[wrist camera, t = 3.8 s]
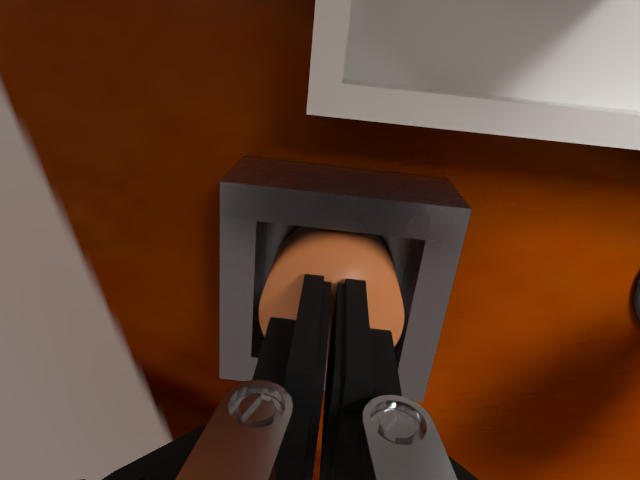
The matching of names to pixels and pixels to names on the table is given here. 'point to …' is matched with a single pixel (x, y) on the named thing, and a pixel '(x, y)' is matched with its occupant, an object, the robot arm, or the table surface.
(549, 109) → the shallow white tray
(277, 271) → the button cap
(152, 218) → the table surface
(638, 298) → the sundae
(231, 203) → the button housing
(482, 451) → the table surface
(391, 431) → the robot arm
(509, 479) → the table surface
